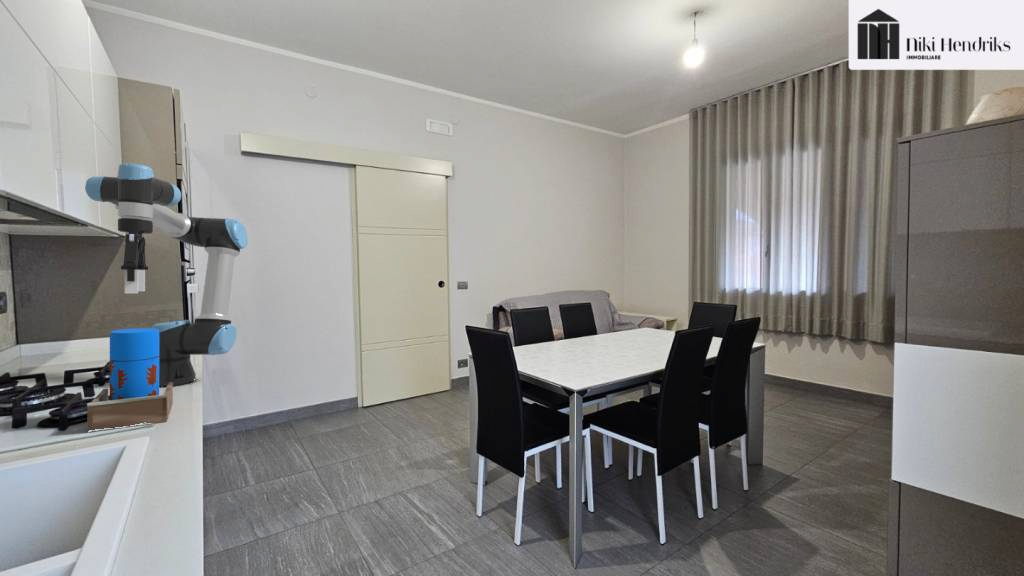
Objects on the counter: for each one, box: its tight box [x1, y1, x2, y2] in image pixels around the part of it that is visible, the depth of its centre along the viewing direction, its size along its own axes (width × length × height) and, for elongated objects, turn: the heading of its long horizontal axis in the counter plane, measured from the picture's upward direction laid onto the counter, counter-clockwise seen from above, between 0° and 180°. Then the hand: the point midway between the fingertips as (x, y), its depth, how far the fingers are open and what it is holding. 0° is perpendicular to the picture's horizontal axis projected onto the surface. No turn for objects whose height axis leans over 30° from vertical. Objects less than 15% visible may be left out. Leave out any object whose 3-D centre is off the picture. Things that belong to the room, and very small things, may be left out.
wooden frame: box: [86, 382, 174, 432], centre depth 121 cm, size 19×16×8 cm
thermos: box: [109, 327, 160, 401], centre depth 122 cm, size 11×11×25 cm
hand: (135, 292), depth 122 cm, fingers open, 13 cm apart
